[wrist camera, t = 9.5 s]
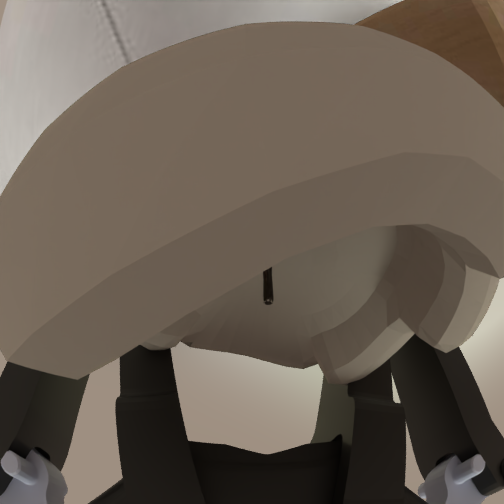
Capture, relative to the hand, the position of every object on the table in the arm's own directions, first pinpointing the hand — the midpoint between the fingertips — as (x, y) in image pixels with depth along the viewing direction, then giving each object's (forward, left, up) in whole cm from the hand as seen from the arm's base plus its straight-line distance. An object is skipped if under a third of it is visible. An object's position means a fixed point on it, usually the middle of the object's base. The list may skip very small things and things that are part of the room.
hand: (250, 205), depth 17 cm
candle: (0, 0, -5) cm, 5 cm away
